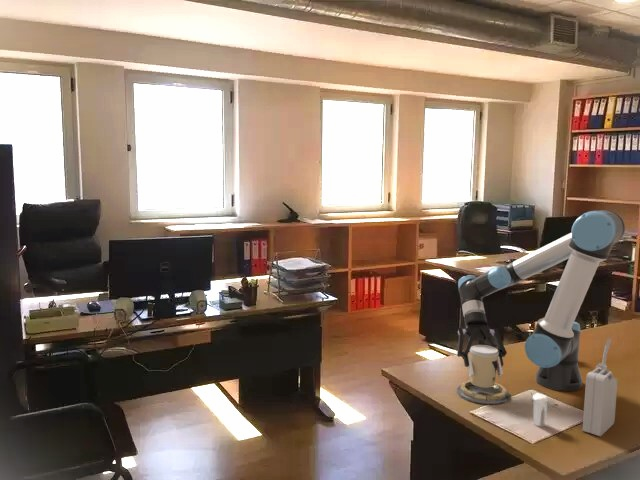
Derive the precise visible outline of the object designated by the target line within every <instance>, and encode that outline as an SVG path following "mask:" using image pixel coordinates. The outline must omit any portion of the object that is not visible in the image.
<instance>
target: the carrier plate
mask: <svg viewBox="0 0 640 480" xmlns="http://www.w3.org/2000/svg"><path fill="white" fill-rule="evenodd" d="M456 393H457V395H458V396H459V397H460V398H462V399H463V400H465V401H468V402H471V403H474V404H478V405H487V406H494V405H502V404H505V403H508V402H509V401H510V398H511V394H510V393H509V391H508V390H507V388H506V387H505V386H504V385H502V384H500V383H498V382H495V384H494V386H493V387H489V388H483V387H478V386H475V385H473V384H472V383H471V379H468V380H465V381H463V382H462V383H461V384H460V385H459V386H457V389H456Z"/></svg>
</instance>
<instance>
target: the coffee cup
mask: <svg viewBox="0 0 640 480" xmlns="http://www.w3.org/2000/svg"><path fill="white" fill-rule="evenodd" d="M497 348H498V347H497ZM497 348H495V347H492V346H488V345H487V344H475V345H471V347H470V350H469V356H471V361H472V367H473V372H474V374H473V376H472V377H470V380H471V383H472V384H473V385H475V386H478V387H483V388H489V387H493V386H494V384H495V383H496V377H497V376H496V375H497V362H498V355H499V352H498V349H497Z"/></svg>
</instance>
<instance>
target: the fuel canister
mask: <svg viewBox="0 0 640 480" xmlns="http://www.w3.org/2000/svg"><path fill="white" fill-rule="evenodd" d="M611 341H612V338H607V339H606V342H605V345H604V349H603V355H602V359H601V362H598V364H597V365H595V369H593V370H592V371H589V372H588V373H587V374H586V378H585V390H584V404H583V418H582V419H583V420H582V432H585V433H589V434H592V435H594V436H597V437H602V436H603V435H604V434H605V432H607V431H608V430H609V429H610V428H611V427H612V426H613V425H614V424H615V419H616V406H617V393H618V379H617V377H614V375H613V371H610V370H609V369H608V366H607V365H608V364H607V358H608V352H609V350H610V345H611Z"/></svg>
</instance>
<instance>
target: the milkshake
mask: <svg viewBox="0 0 640 480" xmlns="http://www.w3.org/2000/svg"><path fill="white" fill-rule="evenodd" d="M530 394H531V398H532V420H533V421H532V423H533V425H534V426H536V427H544V426H546V420H547V414H548V407H549V402H550V398H549V397H548V396H547V395H546V394H543V393H534V394H533V393H532V392H530Z"/></svg>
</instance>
